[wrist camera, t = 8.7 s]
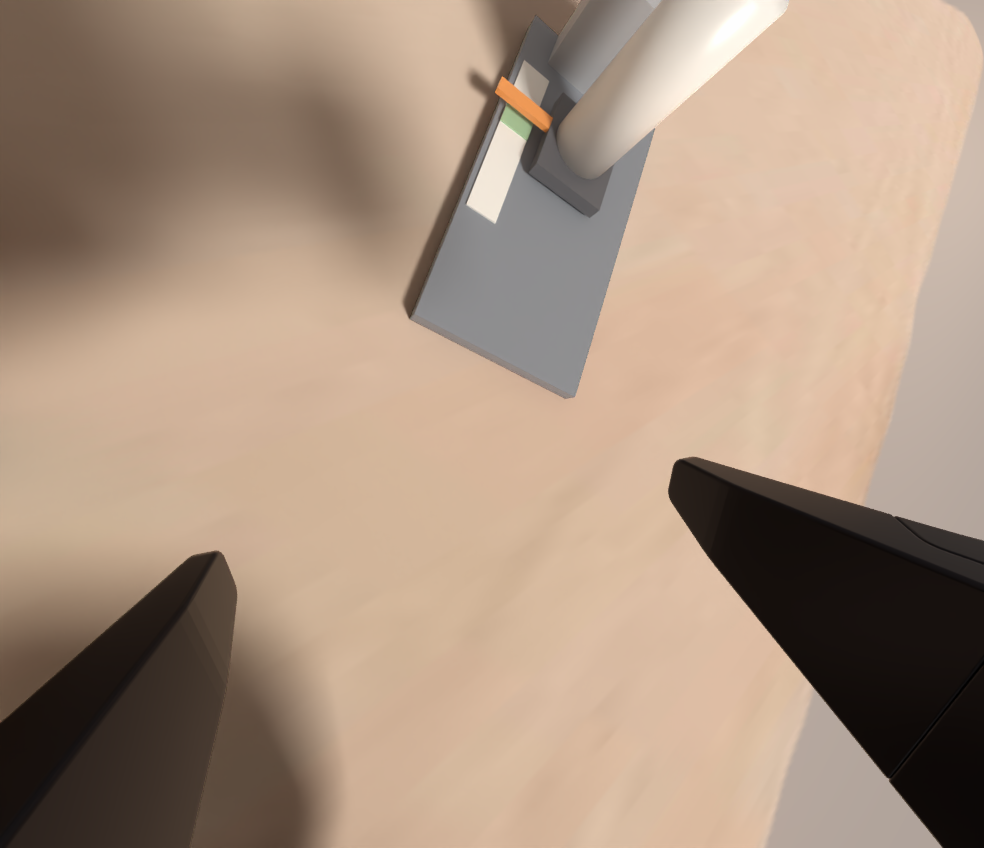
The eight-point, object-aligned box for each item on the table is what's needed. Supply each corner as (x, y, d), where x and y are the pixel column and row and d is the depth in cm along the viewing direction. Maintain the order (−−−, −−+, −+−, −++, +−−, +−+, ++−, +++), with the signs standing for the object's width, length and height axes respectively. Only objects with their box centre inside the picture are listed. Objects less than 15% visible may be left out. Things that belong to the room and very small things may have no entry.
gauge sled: (589, 218, 23) (782, 67, 14) (476, 134, 20) (626, -120, 11) (611, 151, 24) (804, -30, 15) (505, 63, 21) (664, -222, 12)
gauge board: (565, 398, 23) (649, 382, 17) (409, 319, 19) (455, 268, 14) (646, 134, 26) (734, 55, 21) (527, 28, 23) (598, -97, 18)
